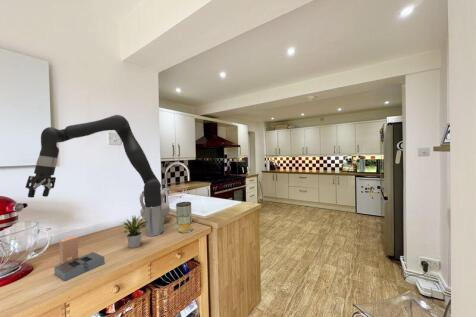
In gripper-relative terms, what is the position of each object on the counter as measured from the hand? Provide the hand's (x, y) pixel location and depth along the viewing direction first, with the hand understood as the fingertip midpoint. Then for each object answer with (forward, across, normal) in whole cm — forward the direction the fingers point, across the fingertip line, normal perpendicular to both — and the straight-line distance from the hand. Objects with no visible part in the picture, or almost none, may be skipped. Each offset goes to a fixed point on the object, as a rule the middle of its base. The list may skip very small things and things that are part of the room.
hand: (38, 196), depth 101 cm
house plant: (+21, 0, -50) cm, 55 cm away
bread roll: (+15, +17, -74) cm, 77 cm away
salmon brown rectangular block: (+26, -11, -27) cm, 39 cm away
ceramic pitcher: (+16, +37, -50) cm, 65 cm away
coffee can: (+13, +32, -71) cm, 79 cm away
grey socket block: (+26, -18, -36) cm, 47 cm away
